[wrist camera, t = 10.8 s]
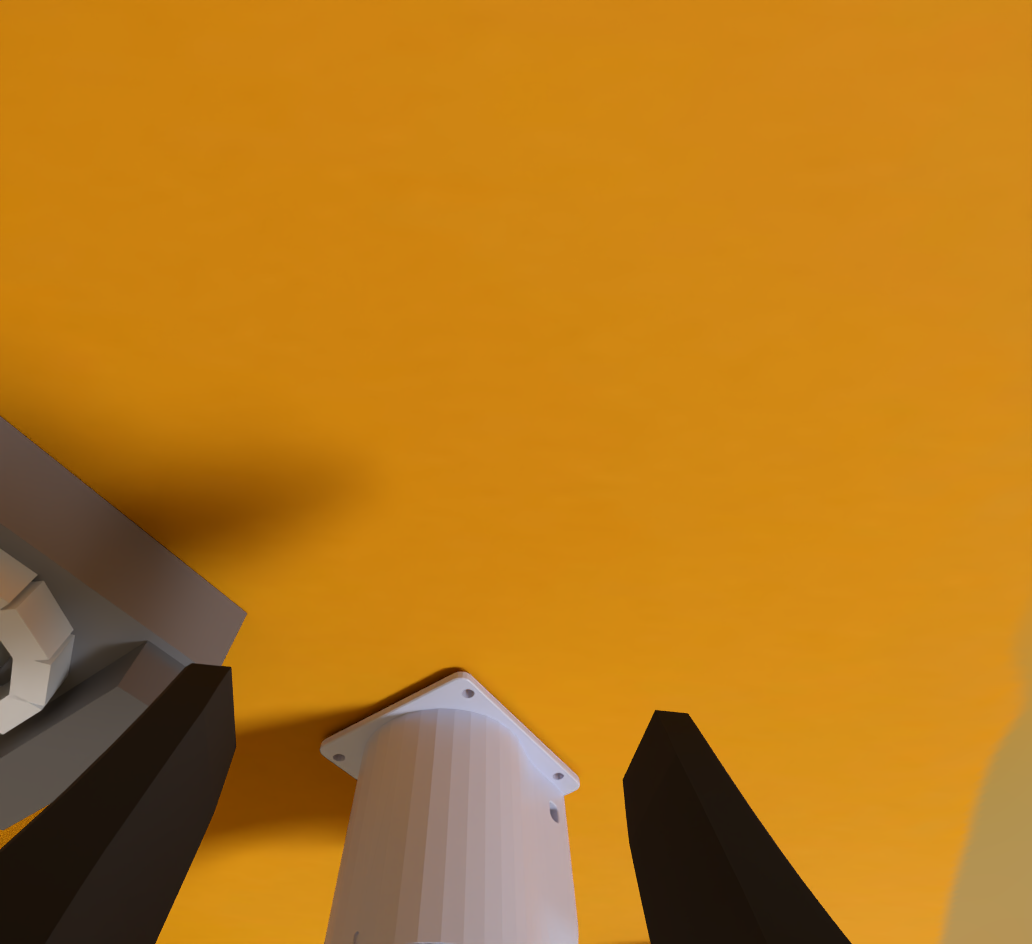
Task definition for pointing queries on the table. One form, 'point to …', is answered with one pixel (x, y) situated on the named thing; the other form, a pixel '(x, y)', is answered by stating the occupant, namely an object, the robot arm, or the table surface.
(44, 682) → the grey plate with ring
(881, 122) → the table surface
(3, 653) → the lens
